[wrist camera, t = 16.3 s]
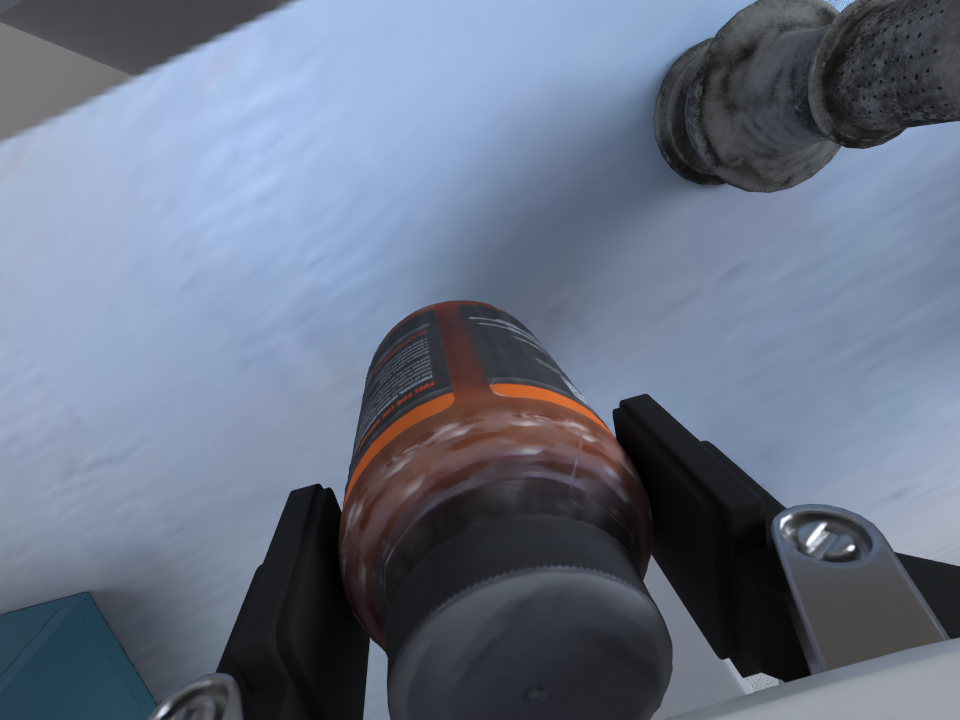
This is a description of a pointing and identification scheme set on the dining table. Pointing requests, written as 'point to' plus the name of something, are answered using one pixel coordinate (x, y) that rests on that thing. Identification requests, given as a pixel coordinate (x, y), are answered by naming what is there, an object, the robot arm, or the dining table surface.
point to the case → (66, 666)
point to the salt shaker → (806, 88)
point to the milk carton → (690, 656)
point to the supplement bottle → (497, 532)
